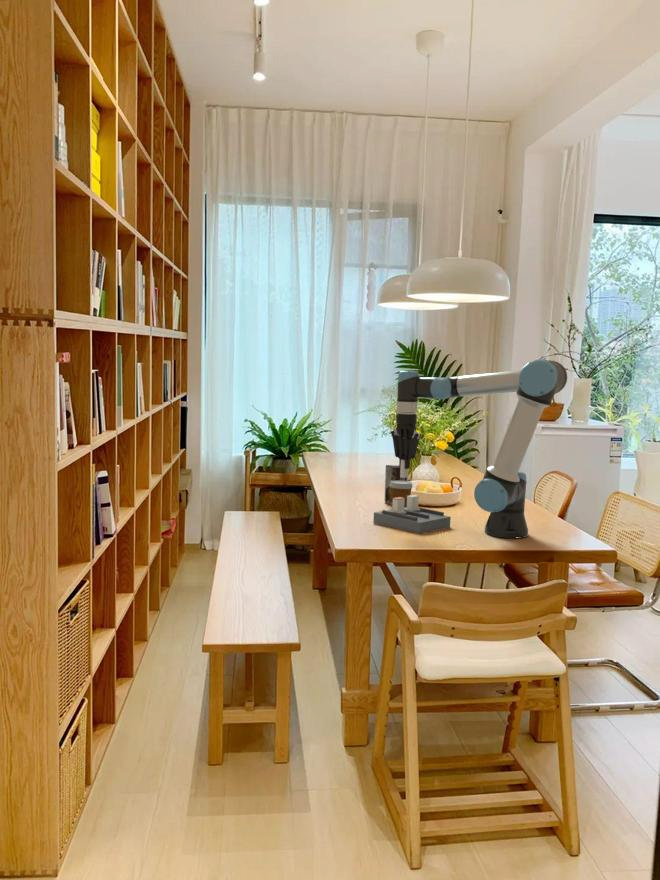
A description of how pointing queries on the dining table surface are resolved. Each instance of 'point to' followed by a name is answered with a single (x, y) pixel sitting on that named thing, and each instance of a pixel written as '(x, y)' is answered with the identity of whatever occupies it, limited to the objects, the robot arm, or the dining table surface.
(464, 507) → the dining table surface
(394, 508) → the breaker slider
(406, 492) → the disposable coffee cup
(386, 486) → the coffee box
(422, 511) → the dark grey tray
